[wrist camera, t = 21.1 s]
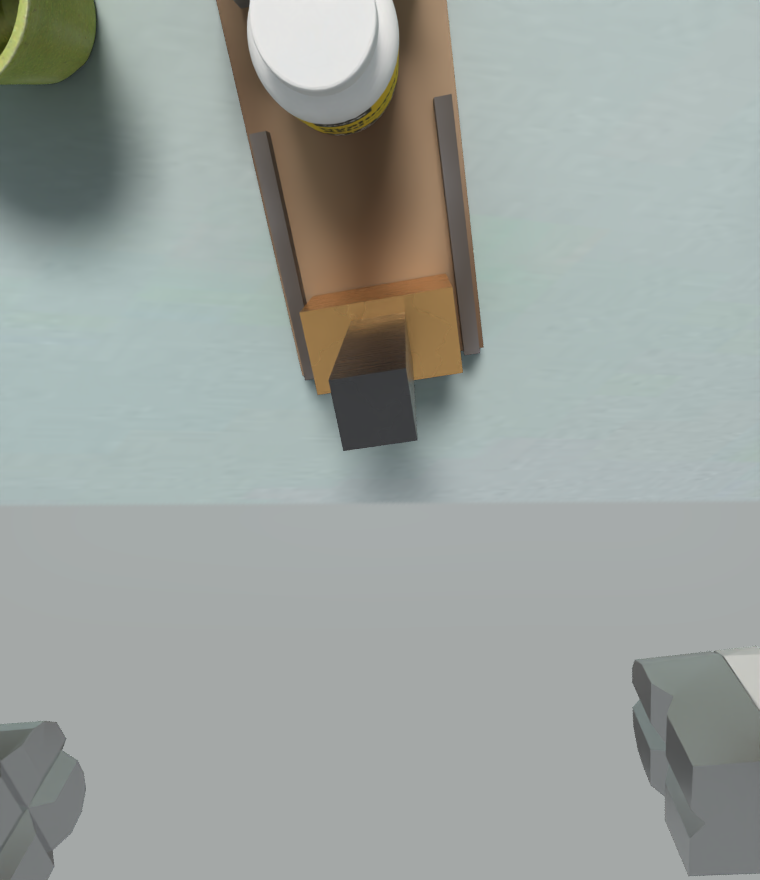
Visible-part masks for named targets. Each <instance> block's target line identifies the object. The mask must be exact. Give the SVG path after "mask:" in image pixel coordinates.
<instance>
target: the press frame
mask: <svg viewBox="0 0 760 880" xmlns="http://www.w3.org/2000/svg"><path fill="white" fill-rule="evenodd" d="M216 1H217V6H218V10H219V14H220V19H221V23H222V28H223V32H224V36H225V41H226V45H227V49H228V54H229V58H230V62H231V67H232V71H233V75H234V80H235V84H236V88H237V93H238V97H239V101H240V106H241V110H242V114H243V119H244V123H245V127H246V132H247V136H248V141H249V145H250V149H251V154H252V158H253V162H254V167H255V171H256V175H257V180H258V184H259V188H260V193H261V197H262V201H263V206H264V210H265V214H266V219H267V223H268V227H269V232H270V236H271V240H272V245H273V249H274V253H275V258H276V262H277V267H278V271H279V275H280V280H281V284H282V288H283V293H284V297H285V301H286V306H287V310H288V314H289V319H290V323H291V327H292V332H293V336H294V340H295V345H296V349H297V353H298V358H299V362H300V366H301V371H302V375H303V376H304V377H305V380H310V379H314V376H313V371H312V367H311V362H310V358H309V353H308V349H307V344H306V340H305V336H304V331H303V327H302V322H301V318H300V311H301V310H302V309H303V308H304V306H305V305H306V304H307V303H308V301H309V300H310V299H311V298H312V296H316V295H322V294H328V293H334V292H339V291H345V290H351V289H357V288H363V287H369V286H375V285H381V284H387V283H392V282H398V281H404V280H410V279H416V278H422V277H428V276H434V275H439V274H445V273H446V275H447V277H448V279H449V281H450V283H451V285H452V287H453V296H454V304H455V312H456V320H457V328H458V337H459V345H460V351H463V352H464V355H470V354H477V353H480V348H482V347H483V339H482V329H481V320H480V311H479V301H478V292H477V282H476V273H475V264H474V254H473V245H472V235H471V226H470V217H469V207H468V198H467V189H466V179H465V170H464V160H463V151H462V142H461V132H460V123H459V113H458V104H457V95H456V85H455V76H454V67H453V57H452V48H451V38H450V29H449V20H448V10H447V1H446V0H392V1H393V4H394V7H395V10H396V15H397V20H398V26H399V66H398V78H397V83H396V88H395V91H394V94H393V97H392V99H391V101H390V103H389V105H388V107H387V108H386V110H385V111H384V113H383V114H382V115H381V116H380V118H379V119H378V120H376V121H375V122H374V123H373V124H372V125H370V126H369V127H367V128H366V129H364V130H362V131H360V132H357V133H354V134H350V135H339V136H338V135H330V134H325V133H321V132H319V131H317V130H315V129H313V128H311V127H309V126H308V125H306V124H305V123H303V122H302V121H300V120H299V119H297V118H296V117H295V116H293V115H291V114H290V113H288V112H287V111H286V110H285V109H283V108H282V107H281V106H280V105H279V104H278V103H277V102H276V101H275V100H274V99H273V98H272V96H271V95H270V94H269V93H268V91H267V90H266V89H265V87H264V86H263V84H262V83H261V81H260V79H259V77H258V75H257V73H256V71H255V68H254V66H253V63H252V60H251V56H250V52H249V47H248V39H247V19H248V12H249V4H250V0H216Z"/></svg>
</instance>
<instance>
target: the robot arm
mask: <svg viewBox="0 0 760 880" xmlns="http://www.w3.org/2000/svg"><path fill="white" fill-rule="evenodd" d="M632 683H633V685H634V687H635V689H636V692H637V694H638V696H639V698H640V700H639V701H638V702H637V703H636V704H635V706H634V707H633V725H634V726H633V727H634V732H635V738H636V742H637V748H638V752H639V755H640V758H641V761H642V764H643V767H644V770H645V772H646V775H647V777H648V780H649V782H650V784H651V786H652V787H654V788H655V789H656V790H657V791H659V792H660V793H661V794H662V795H664V796H665V821H666V824H667V826H668V828H669V831H670V833H671V836H672V838H673V840H674V842H675V845H676V847H677V850H678V852H679V855H680V857H681V859H682V862H683V864H684V866H685V869H686V871H687V874H688V876H705V875H731V874H756V873H757V874H758V873H760V648H758V647H757V646H752V647H743V648H734V649H725V650H717V651H714V652H711V651H709V652H699V653H691V654H681V655H673V656H664V657H655V658H646V659H637V660H635V661H634V664H633V668H632ZM65 741H66V737H65V736H64V734H63V732H62V730H61V729H60V727H59V725H58V724H57V722H50V721H38V722H25V723H12V724H0V880H47V879H48V878H49V876H50V874H51V872H52V870H53V868H54V859H53V849H54V848H56V847H57V846H58V845H59V844H60V843H61V842H62V841H63V840H64V839H65V838H66V837H68V835H70V834H71V832H72V831H73V828H74V826H75V825H76V822H77V820H78V818H79V816H80V814H81V812H82V807H83V802H84V797H85V791H86V786H85V779H84V773H83V770H82V769H81V766H80V764H79V762H78V760H76V759H75V758H73V757H72V756H70V755H69V754H67V753H65V752H64V751H62V749H63V746H64V743H65Z"/></svg>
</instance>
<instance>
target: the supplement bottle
mask: <svg viewBox="0 0 760 880" xmlns="http://www.w3.org/2000/svg"><path fill="white" fill-rule="evenodd" d="M247 39H248V47H249V52H250V56H251V60H252V63H253V66H254V68H255V71H256V73H257V75H258V77H259V79H260V81H261V83H262V84H263V86H264V87H265V89H266V90H267V91H268V93H269V94H270V95H271V96H272V98H273V99H274V100H275V101H276V102H277V103H278V104H279V105H280V106H281V107H282V108H283V109H285V110H286V111H287V112H288V113H290V114H291V115H293V116H295V117H296V118H297V119H299V120H300V121H302V122H303V123H305V124H306V125H308V126H309V127H311V128H313V129H315V130H317V131H319V132H321V133H325V134H330V135H338V136H339V135H350V134H354V133H357V132H360V131H362V130H364V129H366V128H367V127H369V126H370V125H372V124H373V123H374V122H375V121H376V120H378V119H379V118H380V116H381V115H382V114H383V113H384V111H385V110H386V108H387V107H388V105H389V103H390V101H391V99H392V97H393V94H394V91H395V88H396V83H397V78H398V66H399V26H398V20H397V15H396V10H395V7H394V4H393V1H392V0H250V4H249V12H248V19H247Z"/></svg>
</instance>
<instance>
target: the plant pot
mask: <svg viewBox="0 0 760 880" xmlns="http://www.w3.org/2000/svg"><path fill="white" fill-rule="evenodd" d="M95 33H96V13H95V5H94V1H93V0H0V85H7V84H34V85H36V84H53V83H58V82H60V81H62V80H64V79H66V78H67V77H69V76H70V75H72V74H73V73H74V72H75V71H77V70H78V69H79V68H80V67H81V66H83V65H84V64H85V62H86V60H87V59H88V57H89V55H90V53H91V50H92V47H93V44H94V39H95Z"/></svg>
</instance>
